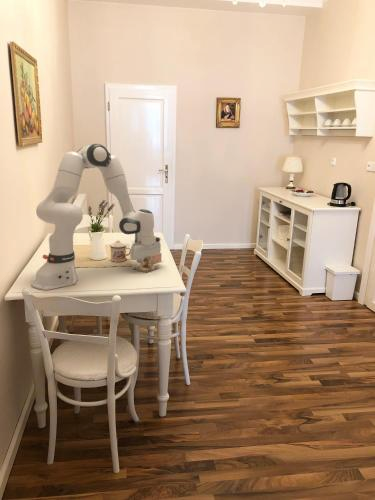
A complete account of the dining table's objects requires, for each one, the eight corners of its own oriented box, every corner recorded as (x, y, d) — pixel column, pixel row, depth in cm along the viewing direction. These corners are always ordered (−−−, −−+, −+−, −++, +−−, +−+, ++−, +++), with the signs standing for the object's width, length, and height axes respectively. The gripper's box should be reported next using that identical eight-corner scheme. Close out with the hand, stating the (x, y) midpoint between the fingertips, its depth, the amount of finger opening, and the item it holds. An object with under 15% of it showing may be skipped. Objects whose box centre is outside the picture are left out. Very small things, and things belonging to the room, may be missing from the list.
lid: (145, 272, 214) (145, 263, 213) (132, 268, 220) (132, 259, 219) (158, 267, 222) (158, 259, 220) (145, 264, 228) (145, 255, 226)
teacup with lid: (111, 262, 230) (111, 243, 226) (109, 258, 238) (109, 239, 235) (132, 261, 233) (132, 241, 230) (129, 256, 242) (129, 238, 238)
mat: (146, 273, 214) (146, 272, 214) (132, 268, 220) (132, 268, 220) (158, 268, 222) (158, 267, 222) (145, 264, 228) (145, 264, 228)
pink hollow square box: (149, 265, 227) (149, 256, 226) (136, 261, 233) (136, 253, 232) (161, 261, 235) (161, 252, 234) (148, 257, 241) (148, 249, 239)
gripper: (135, 244, 207) (136, 270, 211) (162, 237, 222) (162, 261, 226) (127, 242, 211) (127, 267, 214) (154, 235, 226) (154, 259, 230)
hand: (145, 264), depth 220 cm, fingers closed on lid, 3 cm apart
